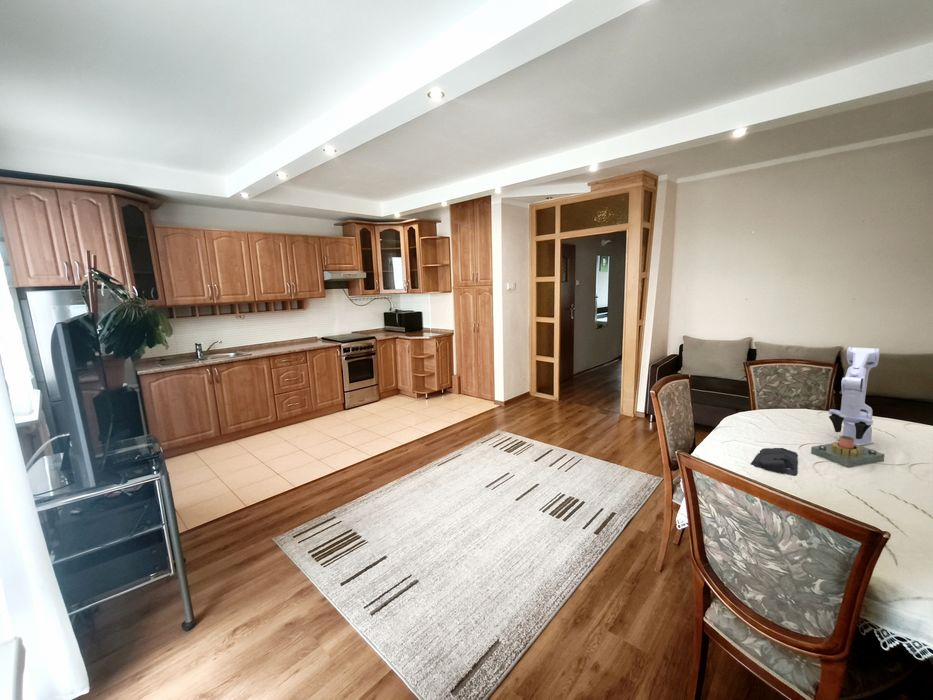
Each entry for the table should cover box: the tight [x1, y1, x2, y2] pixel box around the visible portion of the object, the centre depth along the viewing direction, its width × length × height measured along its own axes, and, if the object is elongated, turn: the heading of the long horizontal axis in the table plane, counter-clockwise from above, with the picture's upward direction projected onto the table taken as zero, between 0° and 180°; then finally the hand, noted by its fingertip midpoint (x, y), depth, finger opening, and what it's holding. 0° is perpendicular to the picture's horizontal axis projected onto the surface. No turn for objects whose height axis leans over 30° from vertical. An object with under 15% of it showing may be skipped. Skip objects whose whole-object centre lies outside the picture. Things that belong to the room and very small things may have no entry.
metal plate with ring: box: [810, 441, 885, 469], centre depth 158 cm, size 18×14×5 cm
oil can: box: [838, 434, 854, 449], centre depth 158 cm, size 4×4×8 cm
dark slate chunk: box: [750, 447, 799, 476], centre depth 159 cm, size 15×22×5 cm
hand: (848, 435), depth 157 cm, fingers open, 7 cm apart
